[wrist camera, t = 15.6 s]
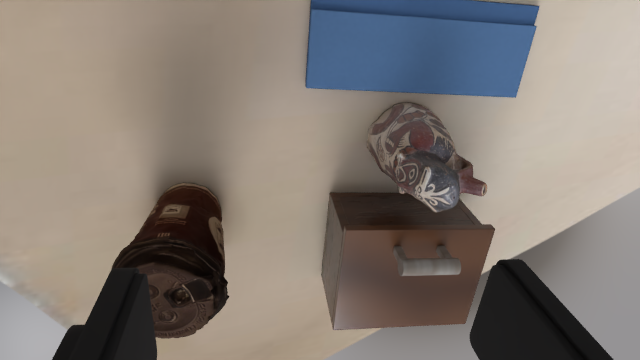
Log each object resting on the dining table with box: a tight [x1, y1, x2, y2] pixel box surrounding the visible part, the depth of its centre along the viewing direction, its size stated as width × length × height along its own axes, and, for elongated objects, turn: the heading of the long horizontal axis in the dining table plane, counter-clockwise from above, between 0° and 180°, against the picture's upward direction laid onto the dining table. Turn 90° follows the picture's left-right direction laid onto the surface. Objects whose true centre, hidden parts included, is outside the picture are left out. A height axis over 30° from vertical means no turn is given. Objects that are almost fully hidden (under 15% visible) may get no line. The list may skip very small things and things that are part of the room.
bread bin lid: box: [332, 225, 495, 330], centre depth 37 cm, size 11×14×4 cm
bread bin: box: [321, 193, 482, 322], centre depth 43 cm, size 11×14×7 cm
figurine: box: [367, 103, 487, 212], centre depth 35 cm, size 7×7×12 cm
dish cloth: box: [305, 0, 539, 97], centre depth 36 cm, size 8×20×1 cm, turn 86°
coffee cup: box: [112, 183, 229, 338], centre depth 35 cm, size 9×8×13 cm
